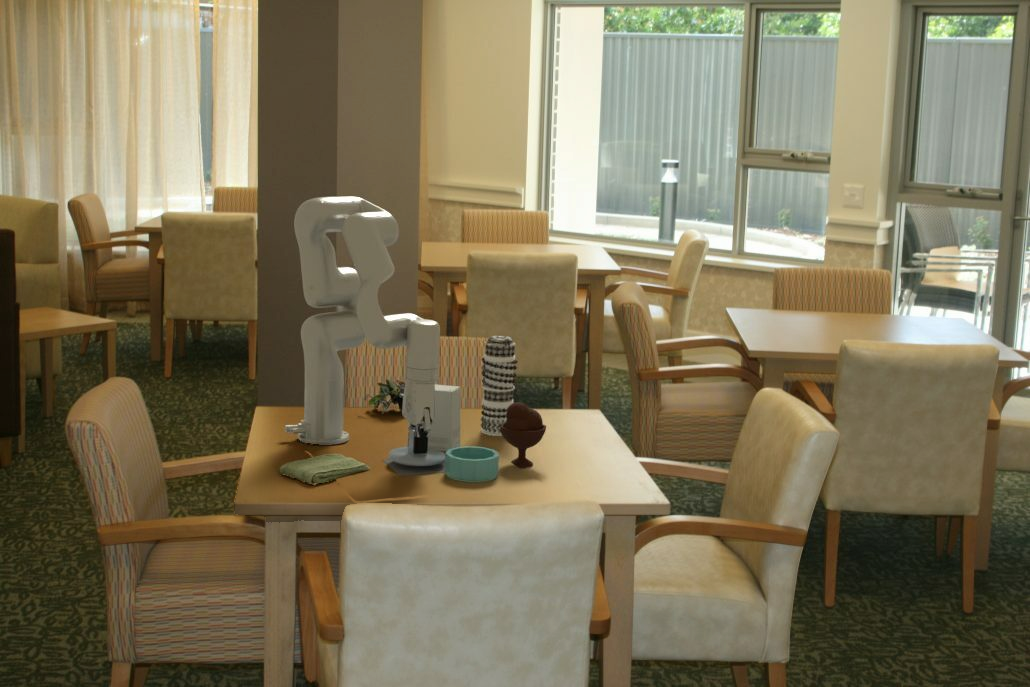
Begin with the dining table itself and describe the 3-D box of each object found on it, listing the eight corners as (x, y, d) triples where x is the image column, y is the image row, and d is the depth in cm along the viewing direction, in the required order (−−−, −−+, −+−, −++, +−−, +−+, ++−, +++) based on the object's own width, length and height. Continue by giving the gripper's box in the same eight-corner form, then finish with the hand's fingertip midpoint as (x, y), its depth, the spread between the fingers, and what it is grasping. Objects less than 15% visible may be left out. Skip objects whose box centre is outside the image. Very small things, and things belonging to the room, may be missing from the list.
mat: (400, 478, 284) (400, 475, 284) (381, 461, 296) (381, 459, 296) (458, 473, 289) (458, 471, 289) (438, 457, 302) (438, 455, 302)
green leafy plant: (400, 430, 347) (426, 398, 344) (377, 430, 338) (402, 398, 334) (377, 402, 352) (401, 370, 348) (353, 401, 342) (378, 369, 339)
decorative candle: (508, 438, 322) (512, 341, 318) (474, 433, 325) (477, 338, 321) (519, 430, 331) (523, 336, 326) (486, 426, 334) (489, 332, 329)
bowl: (456, 486, 280) (457, 462, 279) (438, 471, 290) (439, 448, 289) (505, 481, 284) (506, 458, 283) (486, 467, 295) (486, 444, 294)
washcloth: (373, 473, 288) (373, 460, 287) (312, 489, 275) (313, 474, 274) (335, 461, 297) (335, 448, 296) (275, 476, 283) (275, 462, 283)
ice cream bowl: (512, 473, 291) (515, 409, 289) (491, 460, 301) (493, 399, 298) (552, 468, 296) (555, 406, 293) (530, 456, 306) (532, 396, 303)
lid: (398, 467, 285) (400, 438, 283) (381, 450, 296) (383, 423, 295) (453, 464, 290) (454, 435, 288) (434, 448, 301) (435, 420, 300)
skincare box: (460, 448, 311) (462, 386, 308) (450, 454, 305) (452, 391, 302) (429, 444, 314) (431, 382, 311) (418, 450, 308) (420, 387, 305)
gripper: (394, 365, 295) (391, 441, 299) (417, 382, 280) (413, 462, 284) (425, 365, 298) (421, 439, 302) (449, 381, 283) (444, 460, 287)
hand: (417, 449), depth 293 cm, fingers closed on lid, 3 cm apart
